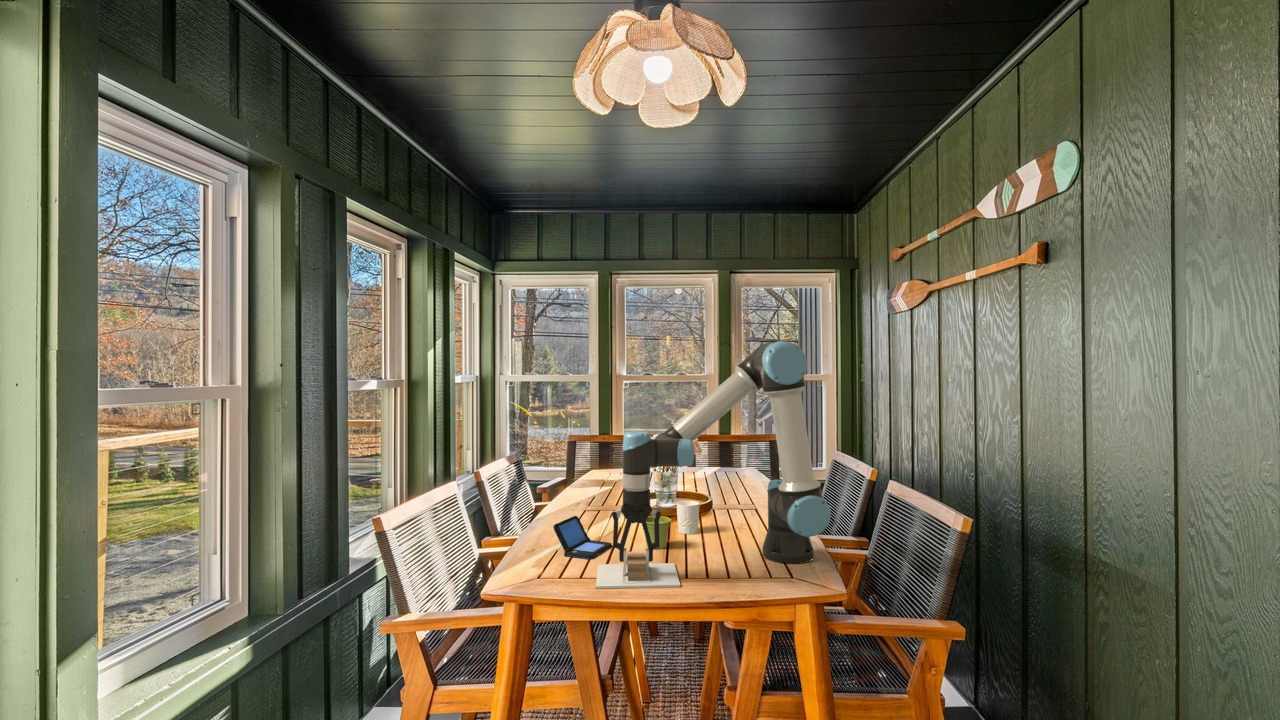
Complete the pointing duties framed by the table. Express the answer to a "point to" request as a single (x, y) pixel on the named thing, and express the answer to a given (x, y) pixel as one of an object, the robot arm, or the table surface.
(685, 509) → the white cup
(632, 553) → the walnut block
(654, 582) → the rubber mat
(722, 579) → the table surface
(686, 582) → the table surface
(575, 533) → the handheld game console
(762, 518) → the table surface
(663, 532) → the plant pot
